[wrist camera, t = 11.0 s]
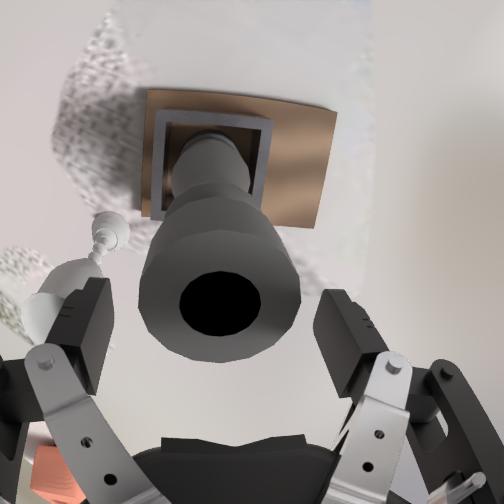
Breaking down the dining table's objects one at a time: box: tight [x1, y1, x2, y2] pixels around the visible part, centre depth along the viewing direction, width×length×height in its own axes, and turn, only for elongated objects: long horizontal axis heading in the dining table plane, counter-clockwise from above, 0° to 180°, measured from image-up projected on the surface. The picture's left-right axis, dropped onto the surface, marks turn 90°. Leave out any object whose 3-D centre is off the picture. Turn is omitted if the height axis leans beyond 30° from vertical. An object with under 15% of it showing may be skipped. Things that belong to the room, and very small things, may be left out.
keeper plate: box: [141, 90, 337, 229], centre depth 34 cm, size 14×20×2 cm
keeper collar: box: [151, 107, 274, 221], centre depth 31 cm, size 10×10×5 cm
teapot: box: [30, 445, 86, 504], centre depth 57 cm, size 25×23×18 cm
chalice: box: [21, 212, 130, 345], centre depth 29 cm, size 7×7×18 cm
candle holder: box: [138, 129, 301, 363], centre depth 22 cm, size 6×6×25 cm
